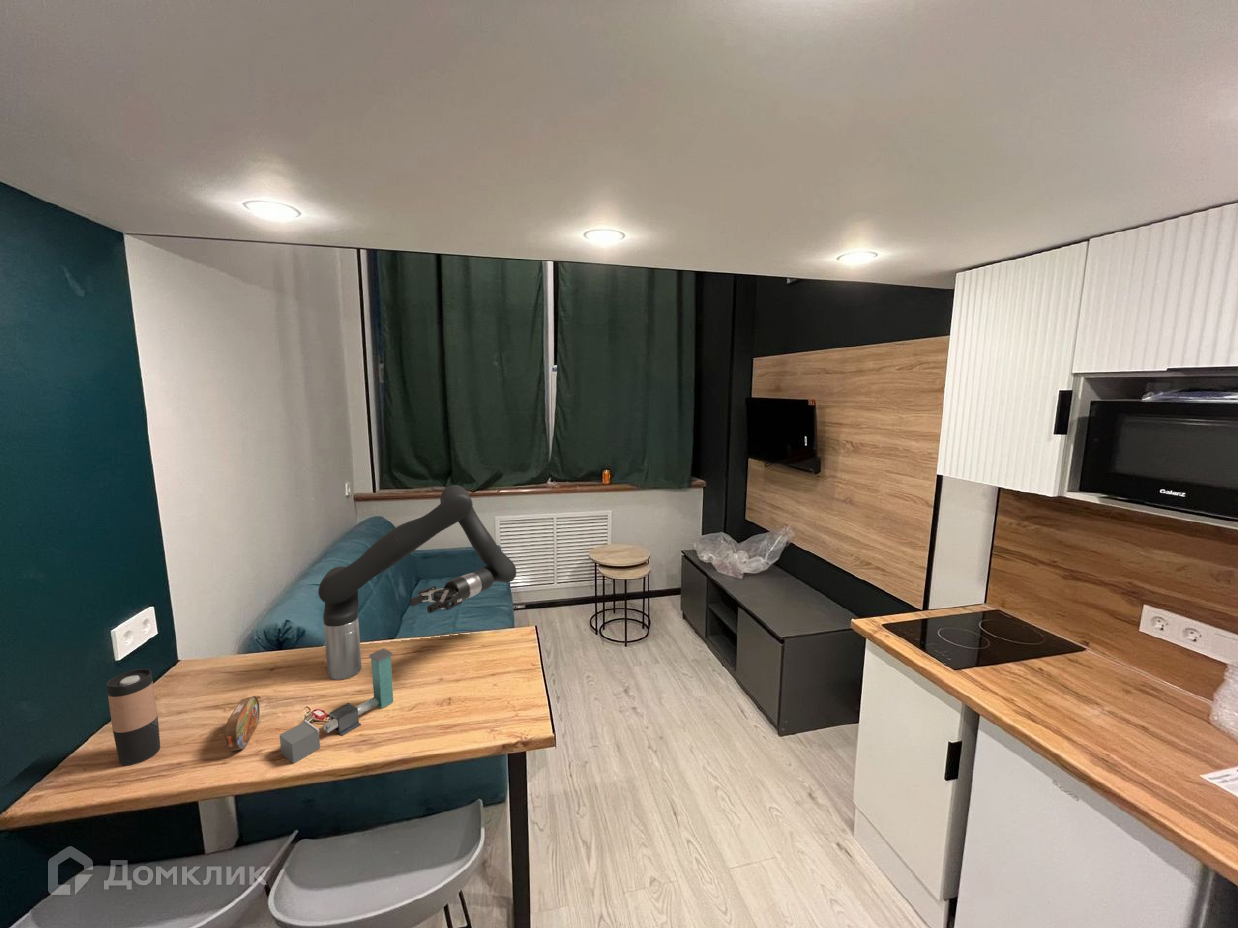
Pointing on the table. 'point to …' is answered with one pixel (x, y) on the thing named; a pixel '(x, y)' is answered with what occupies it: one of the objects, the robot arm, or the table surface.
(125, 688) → the travel mug
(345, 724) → the sleeve
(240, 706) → the tin
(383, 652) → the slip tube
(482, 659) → the table surface
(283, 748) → the socket
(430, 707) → the table surface
